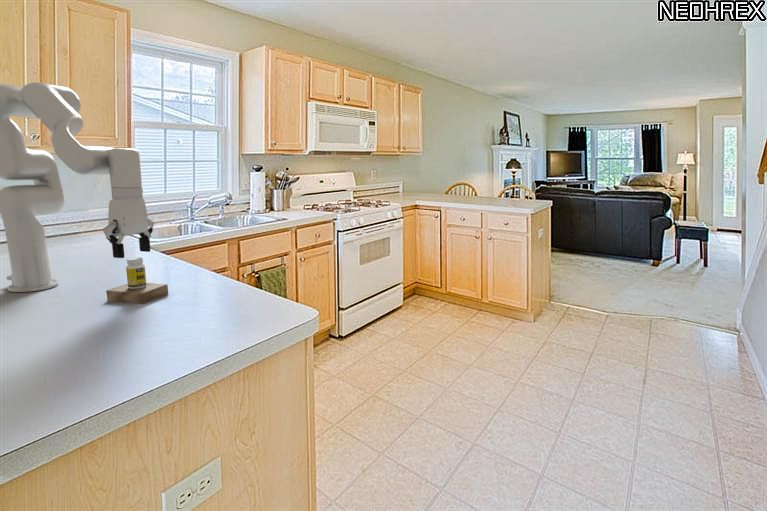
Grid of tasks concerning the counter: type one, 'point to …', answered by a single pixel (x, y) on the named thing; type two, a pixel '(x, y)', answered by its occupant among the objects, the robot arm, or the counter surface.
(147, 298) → the walnut base
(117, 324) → the counter surface
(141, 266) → the supplement bottle
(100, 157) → the robot arm
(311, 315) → the counter surface
